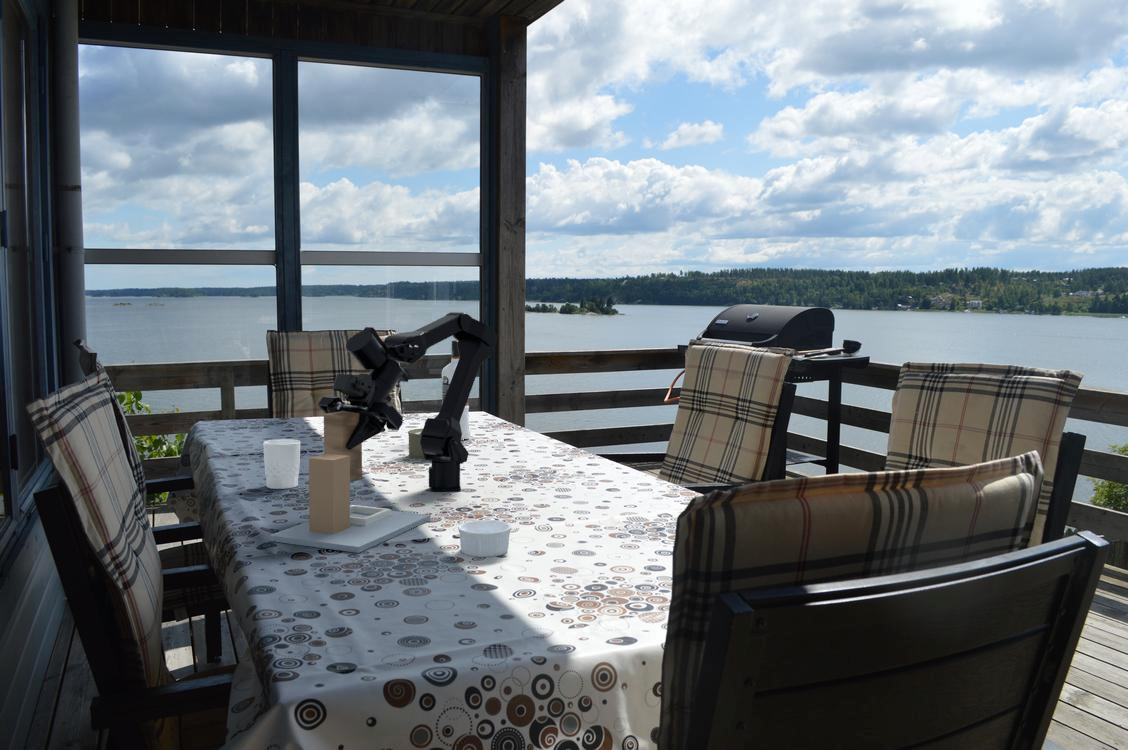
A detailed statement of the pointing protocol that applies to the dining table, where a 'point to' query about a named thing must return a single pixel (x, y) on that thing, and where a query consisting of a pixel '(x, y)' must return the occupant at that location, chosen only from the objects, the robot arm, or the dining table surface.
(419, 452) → the can
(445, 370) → the vodka
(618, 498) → the dining table surface
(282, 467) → the white cup
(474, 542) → the ramekin
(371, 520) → the baseplate
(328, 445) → the walnut pillar
